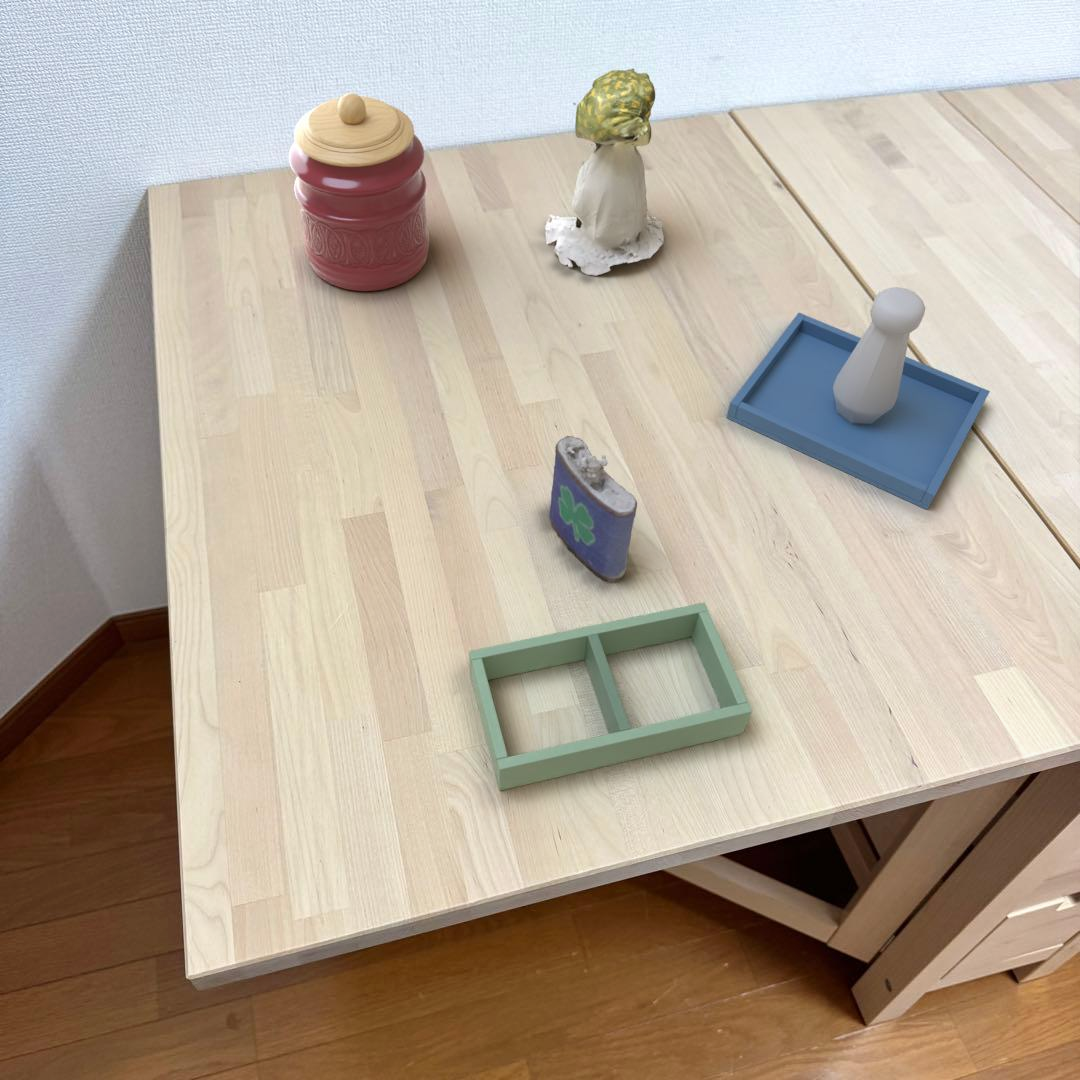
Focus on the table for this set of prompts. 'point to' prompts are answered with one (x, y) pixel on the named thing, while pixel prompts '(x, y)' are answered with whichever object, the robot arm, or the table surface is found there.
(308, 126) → the kitchen canister
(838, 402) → the salt shaker
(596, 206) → the mushroom
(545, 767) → the frame
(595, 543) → the flask
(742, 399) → the tray
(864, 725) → the table surface
